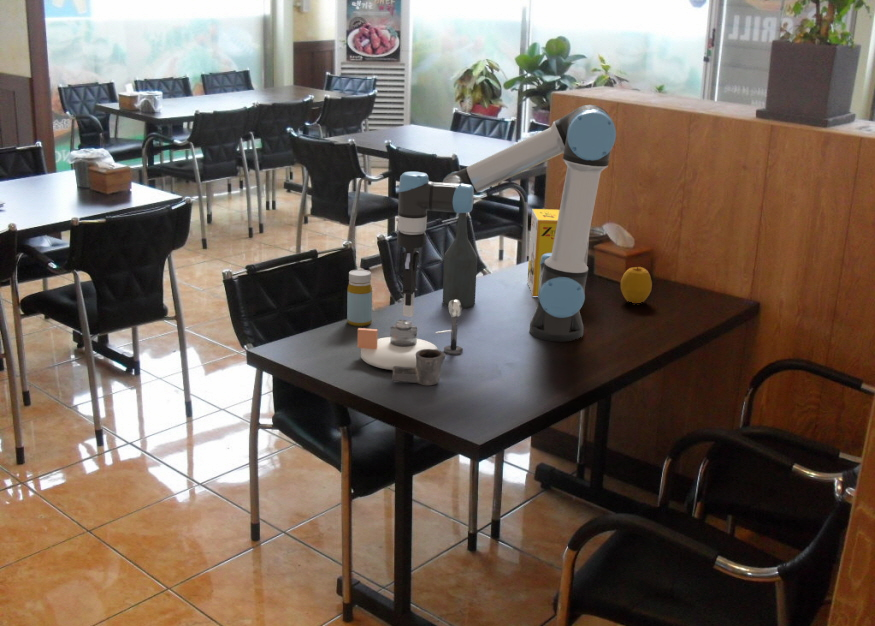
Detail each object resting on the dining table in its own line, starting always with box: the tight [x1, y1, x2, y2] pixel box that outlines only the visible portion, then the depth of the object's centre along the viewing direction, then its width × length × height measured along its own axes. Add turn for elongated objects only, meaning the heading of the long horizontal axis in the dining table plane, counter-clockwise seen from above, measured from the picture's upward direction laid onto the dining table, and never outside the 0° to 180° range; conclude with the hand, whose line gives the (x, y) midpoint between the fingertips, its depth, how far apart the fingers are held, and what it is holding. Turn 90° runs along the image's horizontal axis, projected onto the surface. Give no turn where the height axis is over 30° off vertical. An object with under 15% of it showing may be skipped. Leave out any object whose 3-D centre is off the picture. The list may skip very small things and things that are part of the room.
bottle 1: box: [346, 269, 373, 327], centre depth 276 cm, size 7×7×15 cm
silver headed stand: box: [435, 300, 464, 356], centre depth 256 cm, size 8×5×14 cm, turn 118°
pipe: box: [391, 349, 447, 386], centre depth 236 cm, size 6×13×8 cm, turn 95°
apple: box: [620, 266, 653, 304], centre depth 303 cm, size 10×10×12 cm
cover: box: [389, 319, 418, 347], centre depth 256 cm, size 7×7×6 cm
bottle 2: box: [442, 213, 478, 310], centre depth 293 cm, size 10×10×30 cm
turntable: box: [357, 327, 439, 371], centre depth 250 cm, size 21×20×6 cm
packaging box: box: [526, 208, 591, 297], centre depth 310 cm, size 16×16×25 cm
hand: (408, 315), depth 264 cm, fingers closed
